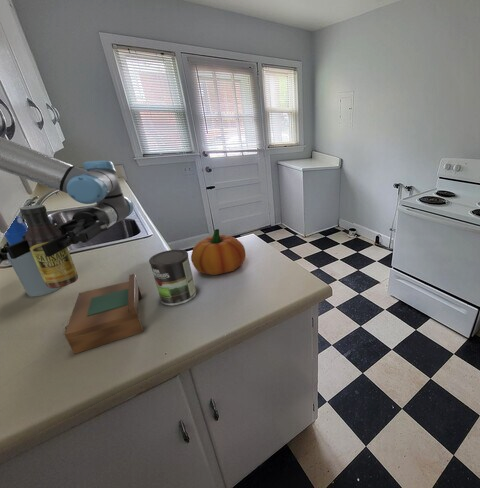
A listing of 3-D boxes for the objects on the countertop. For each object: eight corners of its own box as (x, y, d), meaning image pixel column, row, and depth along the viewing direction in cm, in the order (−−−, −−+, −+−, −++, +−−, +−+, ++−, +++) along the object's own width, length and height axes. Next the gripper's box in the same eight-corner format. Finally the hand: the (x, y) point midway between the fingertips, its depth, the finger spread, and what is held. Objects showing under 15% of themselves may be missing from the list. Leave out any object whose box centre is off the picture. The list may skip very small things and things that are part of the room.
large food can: (177, 309, 80) (166, 267, 74) (153, 301, 83) (140, 261, 78) (204, 290, 89) (195, 252, 83) (180, 284, 92) (170, 247, 86)
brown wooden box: (74, 354, 64) (60, 327, 61) (86, 310, 79) (76, 287, 76) (143, 331, 71) (134, 307, 68) (142, 295, 86) (135, 273, 83)
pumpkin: (182, 274, 98) (172, 236, 92) (216, 253, 115) (210, 219, 109) (226, 283, 93) (219, 243, 87) (256, 259, 109) (252, 224, 103)
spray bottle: (70, 280, 95) (39, 212, 85) (51, 295, 87) (14, 221, 77) (41, 282, 93) (6, 213, 83) (19, 297, 85) (-22, 223, 75)
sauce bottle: (48, 292, 64) (7, 212, 56) (46, 283, 68) (7, 207, 60) (83, 281, 69) (50, 206, 61) (79, 273, 73) (47, 201, 65)
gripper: (133, 229, 83) (82, 264, 62) (64, 232, 81) (-13, 270, 60) (125, 205, 80) (69, 234, 59) (54, 208, 78) (-31, 239, 57)
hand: (28, 252), depth 60 cm, fingers closed on sauce bottle, 6 cm apart
